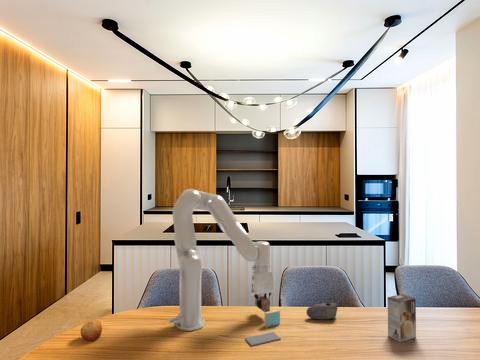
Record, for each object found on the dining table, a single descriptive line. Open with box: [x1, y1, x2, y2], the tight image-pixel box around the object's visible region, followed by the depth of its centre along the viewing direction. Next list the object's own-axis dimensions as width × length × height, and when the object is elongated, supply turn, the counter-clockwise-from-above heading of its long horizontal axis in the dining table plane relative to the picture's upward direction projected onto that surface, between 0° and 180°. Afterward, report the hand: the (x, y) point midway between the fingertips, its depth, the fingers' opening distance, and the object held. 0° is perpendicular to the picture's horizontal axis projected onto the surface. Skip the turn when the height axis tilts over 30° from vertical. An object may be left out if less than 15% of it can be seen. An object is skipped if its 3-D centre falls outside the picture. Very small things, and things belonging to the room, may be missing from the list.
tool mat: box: [244, 331, 281, 347], centre depth 132 cm, size 13×6×1 cm, turn 114°
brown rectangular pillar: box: [254, 294, 271, 313], centre depth 154 cm, size 2×10×5 cm, turn 24°
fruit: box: [80, 319, 103, 342], centre depth 133 cm, size 8×8×8 cm
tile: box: [263, 309, 281, 328], centre depth 145 cm, size 7×2×6 cm, turn 114°
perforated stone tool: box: [306, 302, 338, 320], centre depth 152 cm, size 15×5×7 cm, turn 90°
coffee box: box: [387, 293, 417, 343], centre depth 134 cm, size 9×6×16 cm
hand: (262, 307), depth 154 cm, fingers closed on brown rectangular pillar, 2 cm apart
